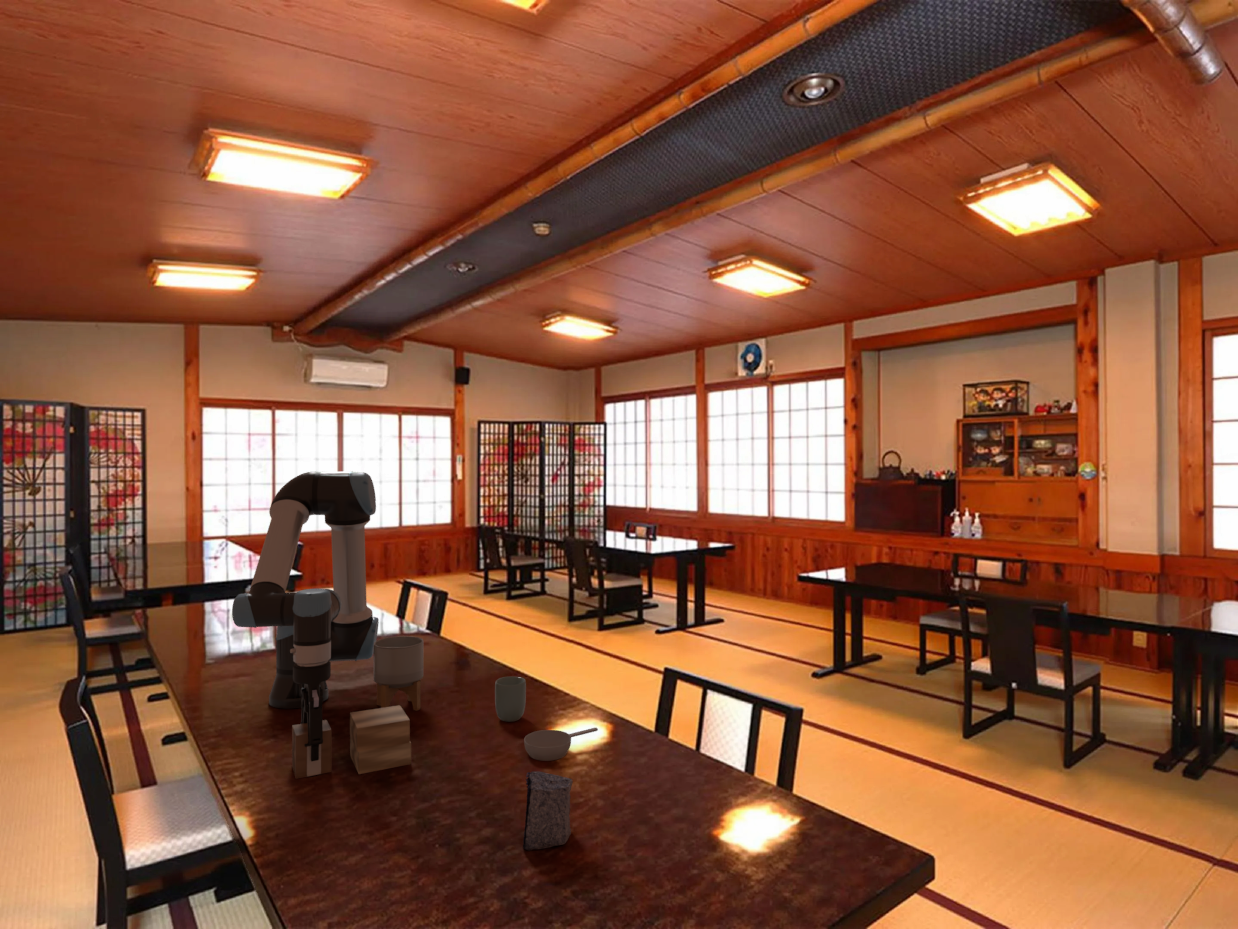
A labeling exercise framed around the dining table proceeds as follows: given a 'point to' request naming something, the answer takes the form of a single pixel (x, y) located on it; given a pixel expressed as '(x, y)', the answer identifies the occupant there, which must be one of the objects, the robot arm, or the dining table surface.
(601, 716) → the dining table surface
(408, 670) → the planter
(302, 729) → the walnut block
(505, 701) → the cup
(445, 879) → the dining table surface
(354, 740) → the tower upper
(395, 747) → the tower lower
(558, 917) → the dining table surface
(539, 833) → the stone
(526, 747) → the saucepan
